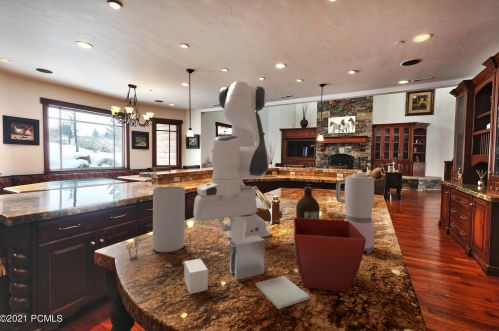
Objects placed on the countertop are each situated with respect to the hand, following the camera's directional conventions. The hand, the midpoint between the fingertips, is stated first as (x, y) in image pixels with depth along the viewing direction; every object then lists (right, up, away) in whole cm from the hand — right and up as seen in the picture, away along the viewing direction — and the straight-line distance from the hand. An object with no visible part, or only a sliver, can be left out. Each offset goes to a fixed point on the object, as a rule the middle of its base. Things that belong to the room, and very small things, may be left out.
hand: (226, 230), depth 74 cm
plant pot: (+31, -16, 0) cm, 34 cm away
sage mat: (+16, -15, -8) cm, 23 cm away
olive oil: (+34, -15, +35) cm, 51 cm away
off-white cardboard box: (-9, -15, -4) cm, 18 cm away
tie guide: (+6, -15, +3) cm, 16 cm away
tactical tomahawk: (+24, -15, +20) cm, 35 cm away
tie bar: (+7, -7, +3) cm, 11 cm away
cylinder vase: (-27, -14, +25) cm, 39 cm away
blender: (+52, -15, +27) cm, 61 cm away
